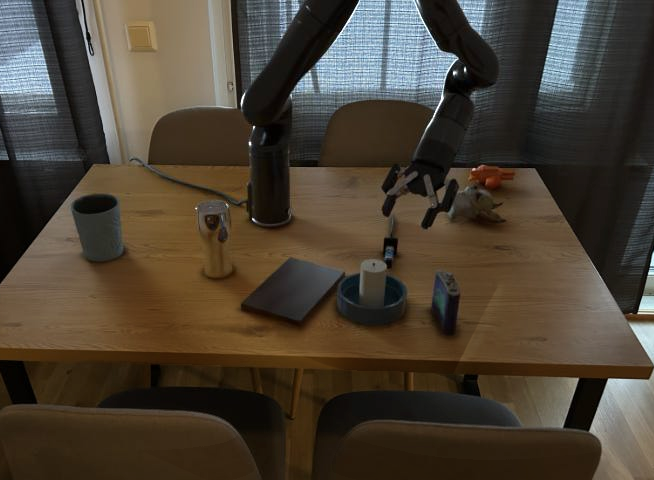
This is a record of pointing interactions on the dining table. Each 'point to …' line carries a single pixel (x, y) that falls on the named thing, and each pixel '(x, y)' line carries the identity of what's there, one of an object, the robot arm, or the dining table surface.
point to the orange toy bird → (491, 175)
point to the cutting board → (293, 291)
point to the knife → (390, 248)
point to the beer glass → (215, 237)
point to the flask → (445, 301)
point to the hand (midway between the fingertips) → (404, 221)
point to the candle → (372, 283)
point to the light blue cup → (98, 226)
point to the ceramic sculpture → (475, 205)
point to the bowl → (368, 315)
